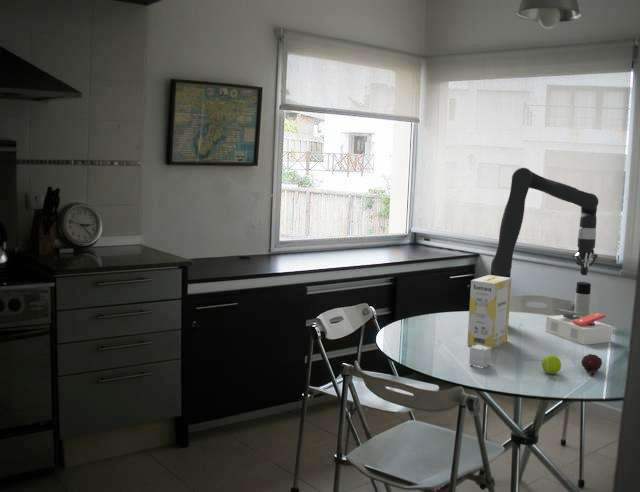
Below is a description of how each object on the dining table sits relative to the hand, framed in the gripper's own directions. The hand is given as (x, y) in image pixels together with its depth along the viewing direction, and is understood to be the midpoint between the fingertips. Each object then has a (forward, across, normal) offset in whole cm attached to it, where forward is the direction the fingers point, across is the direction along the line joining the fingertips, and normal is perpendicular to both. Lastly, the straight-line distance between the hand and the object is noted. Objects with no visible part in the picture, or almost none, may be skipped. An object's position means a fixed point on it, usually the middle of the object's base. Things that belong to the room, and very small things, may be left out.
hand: (583, 274), depth 330 cm
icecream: (+27, +39, +48) cm, 68 cm away
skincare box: (+27, +76, +28) cm, 85 cm away
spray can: (+27, -14, -14) cm, 34 cm away
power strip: (+27, +6, +6) cm, 28 cm away
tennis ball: (+27, +56, +45) cm, 77 cm away
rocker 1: (+18, +6, -1) cm, 19 cm away
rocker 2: (+18, +6, +12) cm, 22 cm away
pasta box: (+27, +53, +2) cm, 60 cm away
